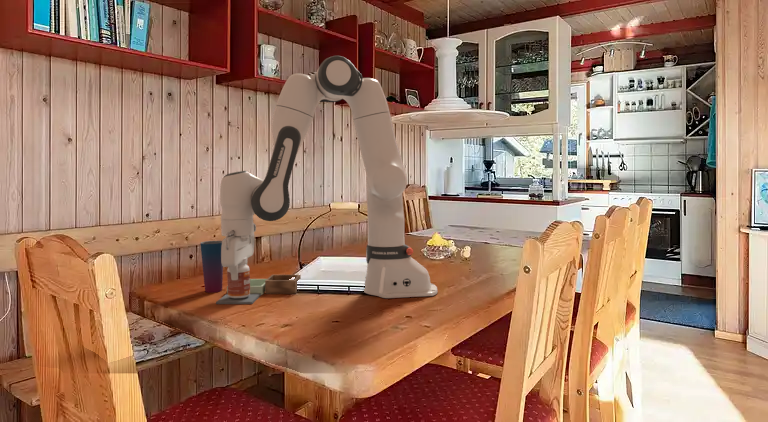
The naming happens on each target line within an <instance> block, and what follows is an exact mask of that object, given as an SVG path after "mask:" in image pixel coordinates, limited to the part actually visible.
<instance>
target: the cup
mask: <svg viewBox="0 0 768 422" xmlns="http://www.w3.org/2000/svg"><path fill="white" fill-rule="evenodd" d="M222 241H223V240H206V241H200V243H199V244H200V253H201V261H202V262H201V263H202V264H201V265H202V274H203V282H204V283H203V284H204V292H205V293H211V294H212V293H220V292H222V291H223V282H224V281H223V279H224V278H223V275H224V267H223V266H222V263H221V248H222Z"/></svg>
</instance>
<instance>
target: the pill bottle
mask: <svg viewBox="0 0 768 422" xmlns="http://www.w3.org/2000/svg"><path fill="white" fill-rule="evenodd" d="M246 263H247V265H246ZM250 272H251V271H250V266H249V265H248V262H247V258H244V259H243V262H241V263H239V264H238V273H239V279H238V280H231V273H230V270H229V267H227V269H226V274H227V275H226V276H227V286H228V296H229V297H230V298H245V297H248V296H249V295H250V279H251V278H250V277H251V276H250V275H251V273H250Z"/></svg>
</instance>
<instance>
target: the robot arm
mask: <svg viewBox="0 0 768 422" xmlns="http://www.w3.org/2000/svg"><path fill="white" fill-rule="evenodd" d="M383 89H384V88H383V87H382V85H381V83H380V82H379V80H377V79H375V78H371V77H363V75H362V73H360V71H359V70H358V69H357V68H356V67H355V65H354V64H353V63H352V62H351V60H349V59H347V57H344V56H341V55H333V56H330V57H327V58H325V59H324V60H323V61H322V62H321V63H320V65H319V67H318V68H317V70H316V72H315V73H314V74H312V75H308V74H306V73H305V74H304V73H300V72H298V73H293V74H291V75H289V77H288V78H287V79H286V80H285V83H284V85H283V87H282V89H281V91H280V93H279V96H278V99H277V101H276V104H275V108H274V112H273V116H272V123H271V133H272V138H273V149H272V154H271V157H270V161H269V164H268V167H267V170H266V174H265V177H264V179H263V178H259V177H258V176H255V175H254V174H252V173H250V172H249V171H248V170H239V171H236V172H235V171H234V172H230V173H227V174H225V175H224V176H223V177H222V178H221V181H220V188H219V197H220V198H219V199H220V200H219V203H220V207H221V215H220V230H221V233H220V234H221V236H222V237H225V238H223V239H222V240H221V241H222V248H221V263H222V266H223V268H228V267H229V270H230V273H231V280H238V279H239V273H238V264H239V263H241V262H243V259H244V258H247V263H246V265H248V260H249V259H248V258H250V257H252V256H253V255H254V252H255V232H256V231H257V225H256V224H255V223H254V215H256V216H257V218H259V219H261V220H263V221H266V222H274V221H277V220H280V219H281V218H283V217H284V216H285V215H286V214H287V213H288V211H289V209H290V206H291V205H290V204H291V203H290V202H291V201H290V199H291V198H290V192H289V185H290V180H291V175H292V172H293V169H294V165H295V161H296V158H297V155H298V152H299V150H300V148H301V146H302V145H303V143H304V141H305V139H306V138H307V135H308V133H309V131H310V128H311V126H312V123H313V120H314V117H315V113H316V109H317V107H318V106H319V104H320V103H336V102H340V101H341V100H344V101H345V102H346V103H347V105H348V107H349V108H350V111H351V116H352V121H353V124H354V125H353V126H354V130H355V134H356V138H357V142H358V147H359V150H360V153H361V158H362V161H363V165H364V169H365V173H366V180H365V182H366V184H365V186H366V209H367V210H366V213H367V245H366V248H365V251H366V252H365V254H366V255H365V259H366V261H365V262H366V264H367V266H366V275H365V276H366V277H365V280H364V285H365V289H364V292H363V293H365V294H367V295H371V296H377V297H378V298H379V297H380V298H383V299H395V298H399V299H400V298H410V297H411V298H414V297H417V298H418V297H433V296H435V295H437V294H438V286H436V285H435V284H434V283H431V277H430V275H429V274H430V273H429V271H428V270H427V268H426V267H424V265H422V264H421V263H419V262H418V261H417V260H416V259H414V258H413V257H412V255H413V254H414V249H413V248H412V247H411V246H410V245H408V244H405V241H406V240H405V212H404V201H403V198H404V197H403V193H404V192H405V190H406V188H407V183H408V179H407V173H406V170H405V167H404V163H403V159H402V155H401V151H400V148H399V146H398V143H397V139H396V134H395V131H394V130H395V129H394V125H393V120H392V117H391V113H390V107H389V103H388V100H387V98H386V96H385V92H384V90H383Z"/></svg>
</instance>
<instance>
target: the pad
mask: <svg viewBox="0 0 768 422" xmlns="http://www.w3.org/2000/svg"><path fill="white" fill-rule="evenodd" d="M261 296H262V295H261V293H250V295H249V296H248V297H245V298H230V297H229V296H228V293H227V292H226V294H225V295H223V296H222V297H220V298H219V299H217V301H215V304H216V305H253V304H254V303H255V302H256V301H257V300H258V299H259V298H260V297H261Z"/></svg>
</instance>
